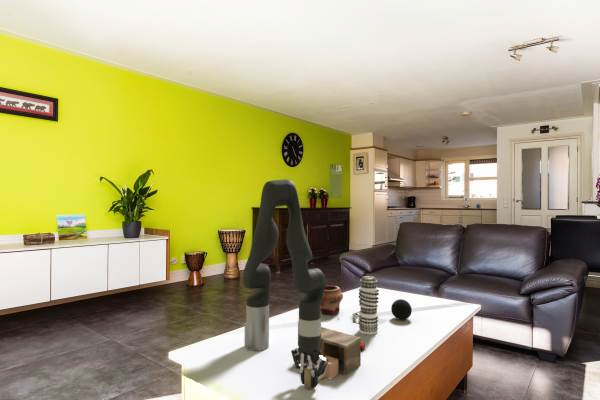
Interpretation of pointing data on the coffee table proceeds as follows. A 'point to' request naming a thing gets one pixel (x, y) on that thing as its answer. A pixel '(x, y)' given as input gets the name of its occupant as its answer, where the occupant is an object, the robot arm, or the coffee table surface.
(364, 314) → the stacked ring tower
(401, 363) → the coffee table surface
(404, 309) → the decorative ball
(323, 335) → the shelf
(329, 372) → the tethered block
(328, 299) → the decorative planter
